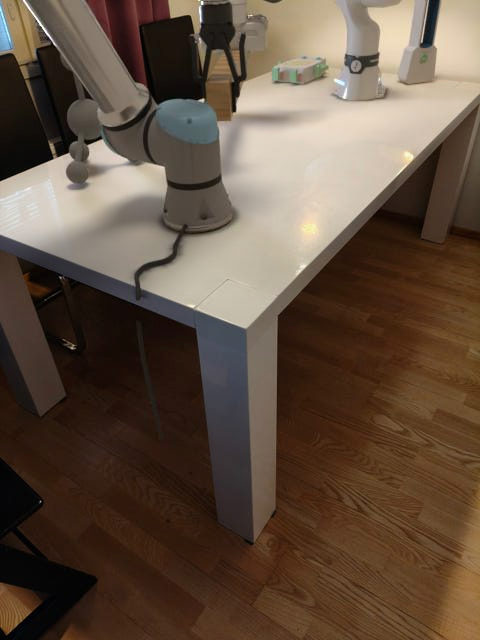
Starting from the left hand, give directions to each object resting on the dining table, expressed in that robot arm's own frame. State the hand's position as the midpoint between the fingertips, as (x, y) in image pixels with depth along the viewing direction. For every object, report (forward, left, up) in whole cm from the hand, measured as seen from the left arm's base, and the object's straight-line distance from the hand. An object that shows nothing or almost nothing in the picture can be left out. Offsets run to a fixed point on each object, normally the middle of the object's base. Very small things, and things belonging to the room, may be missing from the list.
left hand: (222, 111), depth 123 cm
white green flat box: (+102, +21, -14) cm, 105 cm away
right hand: (+34, +15, +3) cm, 38 cm away
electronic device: (+109, -26, -14) cm, 113 cm away
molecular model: (-13, +30, -14) cm, 36 cm away
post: (+17, +8, -1) cm, 19 cm away
